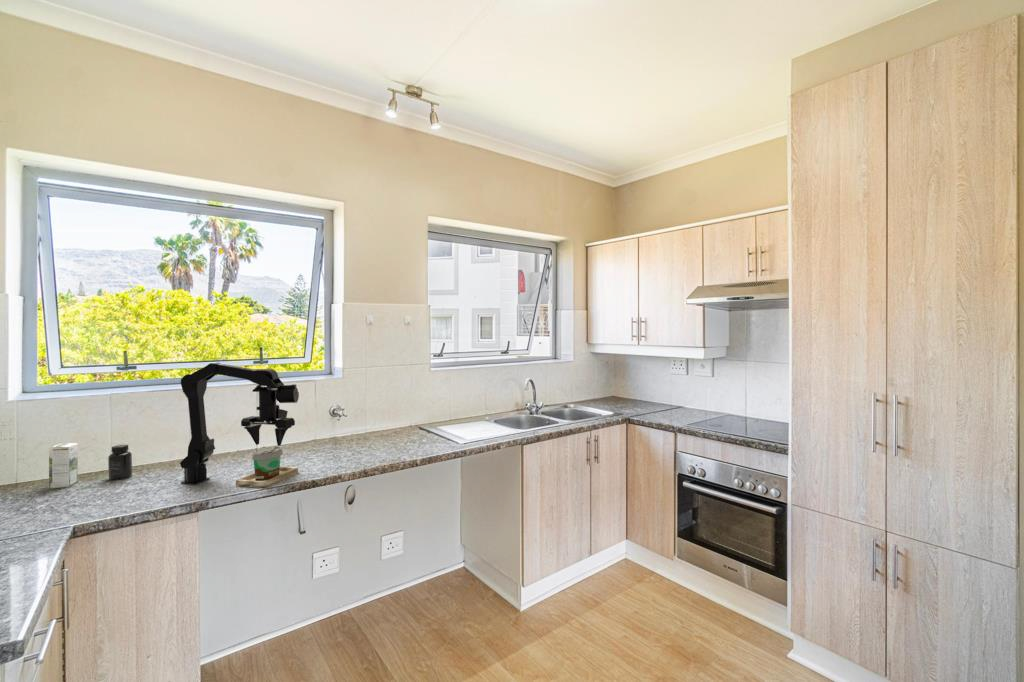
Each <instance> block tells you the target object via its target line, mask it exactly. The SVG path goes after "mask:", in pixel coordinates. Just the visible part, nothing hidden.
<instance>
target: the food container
mask: <svg viewBox="0 0 1024 682" xmlns="http://www.w3.org/2000/svg"><path fill="white" fill-rule="evenodd" d="M282 455H283V449H282V448H281V447H280V446H277V445H275V446H274V448H273V449H271V450H265V451H263V452H261V453H253V454H252V461H253V465H254V466H253V468H254V473H255V480H256V481H263V480H269V479H271V478H274V477H276V476H278V475H279V470H280V466H281V456H282Z"/></svg>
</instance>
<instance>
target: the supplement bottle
mask: <svg viewBox="0 0 1024 682" xmlns="http://www.w3.org/2000/svg"><path fill="white" fill-rule="evenodd" d="M110 452H111V453H110V454H109V455H108V458H107V461H108V463H107V464H108V465H107V466H108V468H107V469H108V479H109V480H110V481H119V480H120V481H121V480H125V479H129V478H131V477H132V476H133V453H132V452H130V451H129V444H117V445H113V446H111V451H110Z"/></svg>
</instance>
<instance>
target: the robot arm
mask: <svg viewBox="0 0 1024 682" xmlns="http://www.w3.org/2000/svg"><path fill="white" fill-rule="evenodd" d="M216 375H221V376H226V377H229V378H230V377H232V378H236V379H243V380H246V381H248V382H249V381H250V382H251V383H253V384H256V387H254V388H253V389H252V390H251V391H252V393H255V392H256V393H257V392H258V406H256V411H258V416H256V415H252V416H247V417H242V419H241V420H240V426H241V427H243V430H244V429H245V430H246V431H247V433H249V435H250V436H251V439H252V440H253V442H254V443H255V445H256V446H258V445H259V444H260V429H261V427H262V425H273V426H275V428H274V432H275V440H276V444H277V445H276V446H277V447H280V446H282V443H283V439H284V437H285V435H286V432H287V431H288V430H289V429H291V428H292V427H293V426H295V425H296V424H295V423H296V422H295V421H296V420H295V419H294V417H287V416H288V410H284V409H282V408H280V405H279V404H277V402H279V403H280V404H292V403H293V404H297V403H298V401H299V396H300V395H299V394H300V392H299V389H298V388H297V384H284V382H283V381H282V380H281V379H280V377H279V375H278V372H277V371H276V370H275V369H273V368H248V367H243V366H237V365H231V364H226V363H221V362H218V361H216V362H210V363H208V364H207V365H205V366H203V367H202V368H200V369H197V370H196V371H194V372H191V373H188V374H185V375H184V376H182V378H181V379H180V386H181V390H182V392H183V394H184V395H185V397H186V399H187V402H188V415H189V424H190V435H191V437H190V441H189V443H188V447H187V455H186V456H185V457H184V458H183V459H182V460H181V461H180V462H179V464H180V467H181V469H184V471H183V472H184V473H183V474H184V479H183V480H182V481H180V484H182V485H186V484H187V485H198V484H200V482H201V483H203V482H206V481H208V480H210V479H211V478H210V477H208V476H207V475H208V473H207V471H208V470H207V463H206V462H208V461H209V460H210V458H211V456H212V455H213V454H214V450H216V446H215V439H214V438H210V437H209V435H208V433H207V422H206V420H207V419H206V411H205V400H204V396H205V393H206V390H207V387H208V386H207V385H208V381H210V380H211V379H212V378H214V377H215V376H216ZM184 483H185V484H184ZM197 483H198V484H197Z"/></svg>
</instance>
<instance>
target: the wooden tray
mask: <svg viewBox="0 0 1024 682" xmlns="http://www.w3.org/2000/svg"><path fill="white" fill-rule="evenodd" d="M296 473H297V474H299V467H293V466H283V465H282V466H281V465H280V470H279V475H278V476H276V477H274V478H271V479H269V480H263V481H256V480H255V472H252V473H250V474H248V475H245V476H243V477H240V478H238V479H235V486H236V485H239V486H238V487H244V486H252V487H251V488H257V487H260V489H266V488H269V487H271V486H273V485H275V484H277V483H279V481H280V482H281V480H282V481H283V479H284V480H286V479H288V478H290V477H292V476H294V474H295V475H297V474H296ZM287 477H288V478H287ZM285 478H286V479H285Z"/></svg>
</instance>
